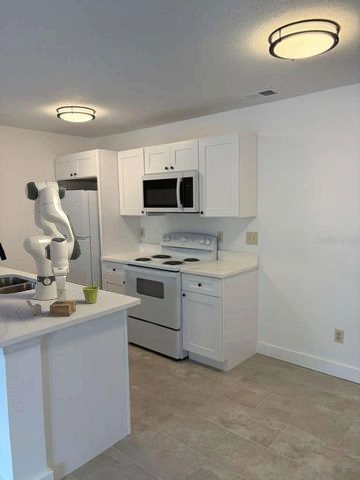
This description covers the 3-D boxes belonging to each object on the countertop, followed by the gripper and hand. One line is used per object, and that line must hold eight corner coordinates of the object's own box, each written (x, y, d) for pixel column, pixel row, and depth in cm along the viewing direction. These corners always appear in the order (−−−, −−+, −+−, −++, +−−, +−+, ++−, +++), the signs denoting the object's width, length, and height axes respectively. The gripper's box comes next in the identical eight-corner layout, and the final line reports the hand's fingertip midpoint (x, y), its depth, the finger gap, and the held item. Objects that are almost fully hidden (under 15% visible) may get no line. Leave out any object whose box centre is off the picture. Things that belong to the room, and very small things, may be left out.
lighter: (41, 312, 190) (40, 298, 189) (41, 313, 189) (40, 299, 188) (27, 314, 188) (26, 299, 187) (27, 315, 186) (26, 300, 185)
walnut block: (57, 311, 194) (57, 300, 193) (76, 311, 193) (75, 300, 192) (50, 317, 184) (49, 305, 183) (69, 317, 183) (68, 305, 183)
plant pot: (90, 299, 215) (90, 285, 214) (102, 301, 210) (102, 287, 210) (79, 303, 207) (78, 288, 206) (91, 305, 202) (90, 290, 202)
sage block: (57, 298, 189) (56, 287, 189) (66, 298, 191) (65, 287, 190) (57, 301, 185) (56, 289, 185) (66, 300, 187) (65, 288, 186)
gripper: (54, 266, 195) (55, 291, 197) (53, 273, 176) (54, 300, 177) (66, 265, 197) (67, 290, 199) (66, 272, 178) (68, 299, 179)
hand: (61, 295), depth 188 cm, fingers closed on sage block, 4 cm apart
